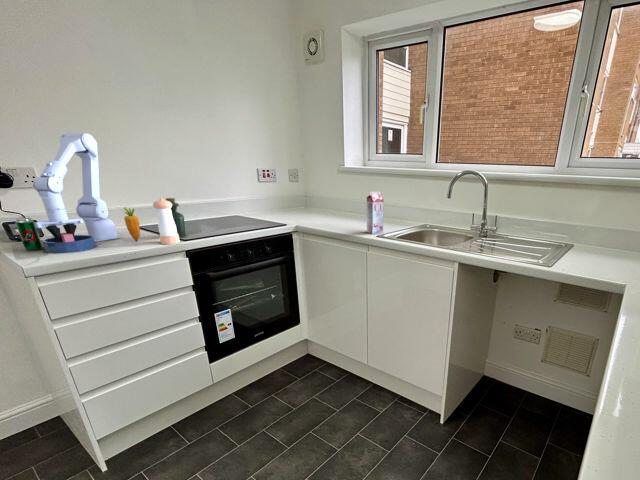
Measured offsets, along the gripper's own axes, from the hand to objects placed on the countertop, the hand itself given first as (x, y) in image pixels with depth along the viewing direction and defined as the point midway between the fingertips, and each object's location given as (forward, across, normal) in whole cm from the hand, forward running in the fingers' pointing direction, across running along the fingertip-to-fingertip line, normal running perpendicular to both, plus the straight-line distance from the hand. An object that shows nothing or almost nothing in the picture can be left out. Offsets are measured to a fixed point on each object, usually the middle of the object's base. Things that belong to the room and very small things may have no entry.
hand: (66, 243), depth 142 cm
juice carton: (+2, +101, -88) cm, 134 cm away
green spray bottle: (+2, +37, -15) cm, 40 cm away
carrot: (+2, +21, -10) cm, 23 cm away
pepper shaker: (+2, +27, -24) cm, 36 cm away
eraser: (+1, 0, 0) cm, 1 cm away
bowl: (+2, 0, -3) cm, 3 cm away
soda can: (+2, -8, +6) cm, 10 cm away
